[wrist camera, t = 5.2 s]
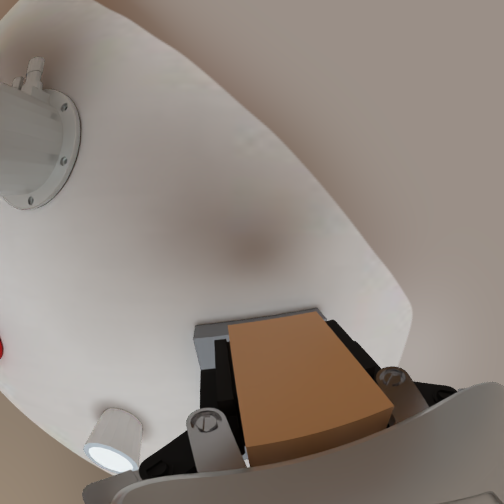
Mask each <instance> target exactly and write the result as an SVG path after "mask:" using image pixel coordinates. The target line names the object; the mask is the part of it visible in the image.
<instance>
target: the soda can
mask: <svg viewBox="0 0 504 504" xmlns="http://www.w3.org/2000/svg"><path fill="white" fill-rule="evenodd" d="M1 357H2V344H1V340H0V359H1Z"/></svg>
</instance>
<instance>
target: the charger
mask: <svg viewBox="0 0 504 504" xmlns="http://www.w3.org/2000/svg"><path fill="white" fill-rule="evenodd" d="M228 332H229V339H230V347H231V354H232V362H233V369H234V376H235V383H236V389H237V396H238V402H239V409H240V415H241V421H242V427H243V433H244V439H245V445H246V450H247V455H248V459H249V464H250V467H256V466H262V465H268V464H273V463H278V462H283V461H288V460H292V459H296V458H300V457H304V456H308V455H312V454H316V453H319V452H323V451H326V450H329V449H333V448H336V447H339V446H342V445H345V444H348V443H351V442H353V441H356V440H359V439H362V438H364V437H367V436H369V435H372V434H374V433H377V432H379V431H382V430H384V429H386V427H387V425H388V422H389V419H390V417H391V414H392V411H393V408H394V405H393V404H392V402H391V401H390V400H389V399H388V397H387V396H386V395H385V394H384V393H383V391H382V390H381V389H380V388H379V386H378V385H377V384H376V383H375V382H374V380H373V379H372V378H371V377H370V375H369V374H368V373H367V372H366V371H365V369H364V368H363V367H362V366H361V364H360V363H359V362H358V361H357V360H356V358H355V357H354V356H353V355H352V354H351V352H350V351H349V350H348V349H347V348H346V346H345V345H344V344H343V343H342V341H341V340H340V339H339V338H338V337H337V335H336V334H335V333H334V332H333V331H332V329H331V328H330V327H329V326H328V325H327V323H326V322H325V321H324V320H323V319H322V317H321V316H320V315H319V314H318V313H317V311H314V312H309V313H304V314H298V315H292V316H286V317H280V318H274V319H268V320H261V321H255V322H248V323H241V324H233V325H228Z"/></svg>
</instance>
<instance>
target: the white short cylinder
mask: <svg viewBox="0 0 504 504" xmlns="http://www.w3.org/2000/svg"><path fill="white" fill-rule="evenodd" d="M142 431H143V428H142V424H141V423H140V421H139V420H138V419H137V418H136V417H135V416H133V415H132V414H131V413H128V412H126V411H124V410H121V409H116V408H111V409H107V410H105V411H104V412H103V414H102V416H101V418H100V419H99V421H98V423H97V424H96V426H95V428H94V429H93V431H92V433H91V435H90V436H89V438H88V440H87V441H86V443H85V445H84V449H83V450H84V452H85V454H86V455H87V456H88V457H89V458H90V459H91V460H92V461H93V462H94V463H95V464H97V465H99V466H100V467H102V468H104V469H106V470H108V471H111V472H114V473H118V474H120V473H123V472H125V471H128V470H132V471H136V470H138V469H139V460H140V449H141V440H142Z"/></svg>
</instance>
